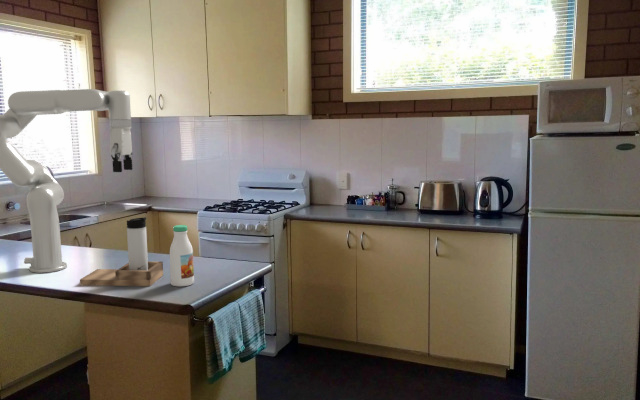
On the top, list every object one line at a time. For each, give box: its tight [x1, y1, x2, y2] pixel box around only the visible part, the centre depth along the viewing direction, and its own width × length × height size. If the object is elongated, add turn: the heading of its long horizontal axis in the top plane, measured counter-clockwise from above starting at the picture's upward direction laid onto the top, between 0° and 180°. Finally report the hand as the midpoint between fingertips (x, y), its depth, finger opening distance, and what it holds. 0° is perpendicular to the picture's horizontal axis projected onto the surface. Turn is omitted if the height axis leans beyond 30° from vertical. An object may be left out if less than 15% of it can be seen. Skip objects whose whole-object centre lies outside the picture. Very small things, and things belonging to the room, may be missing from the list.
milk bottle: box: [169, 224, 195, 287], centre depth 184 cm, size 8×8×20 cm
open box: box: [79, 260, 164, 287], centre depth 189 cm, size 24×13×5 cm, turn 87°
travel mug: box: [126, 216, 149, 271], centre depth 188 cm, size 6×7×20 cm
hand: (123, 170), depth 204 cm, fingers open, 9 cm apart
